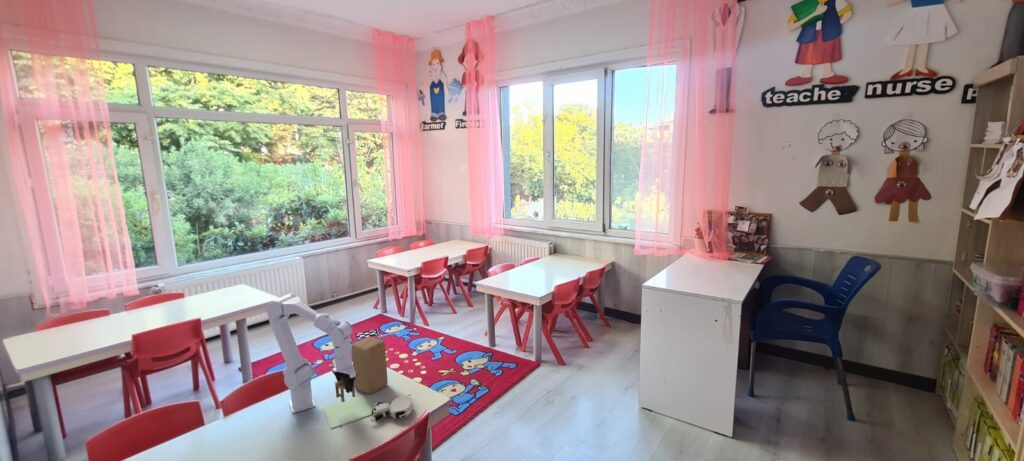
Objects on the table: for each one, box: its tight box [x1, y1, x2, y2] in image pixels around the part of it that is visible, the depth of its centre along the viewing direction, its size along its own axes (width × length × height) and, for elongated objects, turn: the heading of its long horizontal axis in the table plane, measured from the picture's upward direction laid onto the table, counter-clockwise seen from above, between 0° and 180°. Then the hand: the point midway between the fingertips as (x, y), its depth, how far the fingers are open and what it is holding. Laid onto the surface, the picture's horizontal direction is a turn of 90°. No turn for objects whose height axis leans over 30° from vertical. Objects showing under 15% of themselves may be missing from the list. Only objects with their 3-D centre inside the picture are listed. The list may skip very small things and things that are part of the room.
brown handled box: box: [334, 380, 356, 402], centre depth 158 cm, size 5×5×6 cm
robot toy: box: [369, 393, 414, 423], centre depth 157 cm, size 12×4×15 cm
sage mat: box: [322, 394, 374, 430], centre depth 160 cm, size 15×15×1 cm
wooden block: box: [350, 336, 388, 395], centre depth 175 cm, size 10×10×20 cm
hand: (345, 388), depth 158 cm, fingers closed on brown handled box, 5 cm apart
